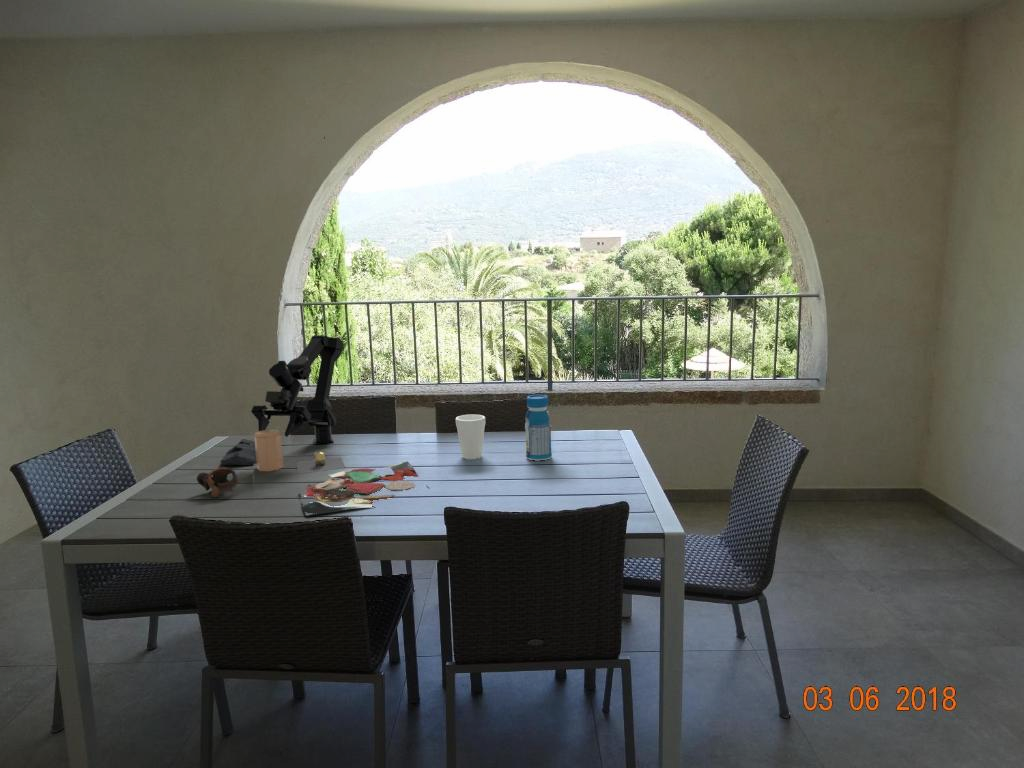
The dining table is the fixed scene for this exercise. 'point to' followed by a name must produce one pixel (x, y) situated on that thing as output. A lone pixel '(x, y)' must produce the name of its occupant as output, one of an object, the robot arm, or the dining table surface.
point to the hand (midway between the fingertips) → (272, 435)
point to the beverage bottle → (538, 428)
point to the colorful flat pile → (357, 488)
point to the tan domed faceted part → (268, 450)
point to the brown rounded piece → (218, 480)
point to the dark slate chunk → (241, 454)
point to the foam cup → (471, 435)
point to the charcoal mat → (311, 466)
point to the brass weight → (319, 458)
